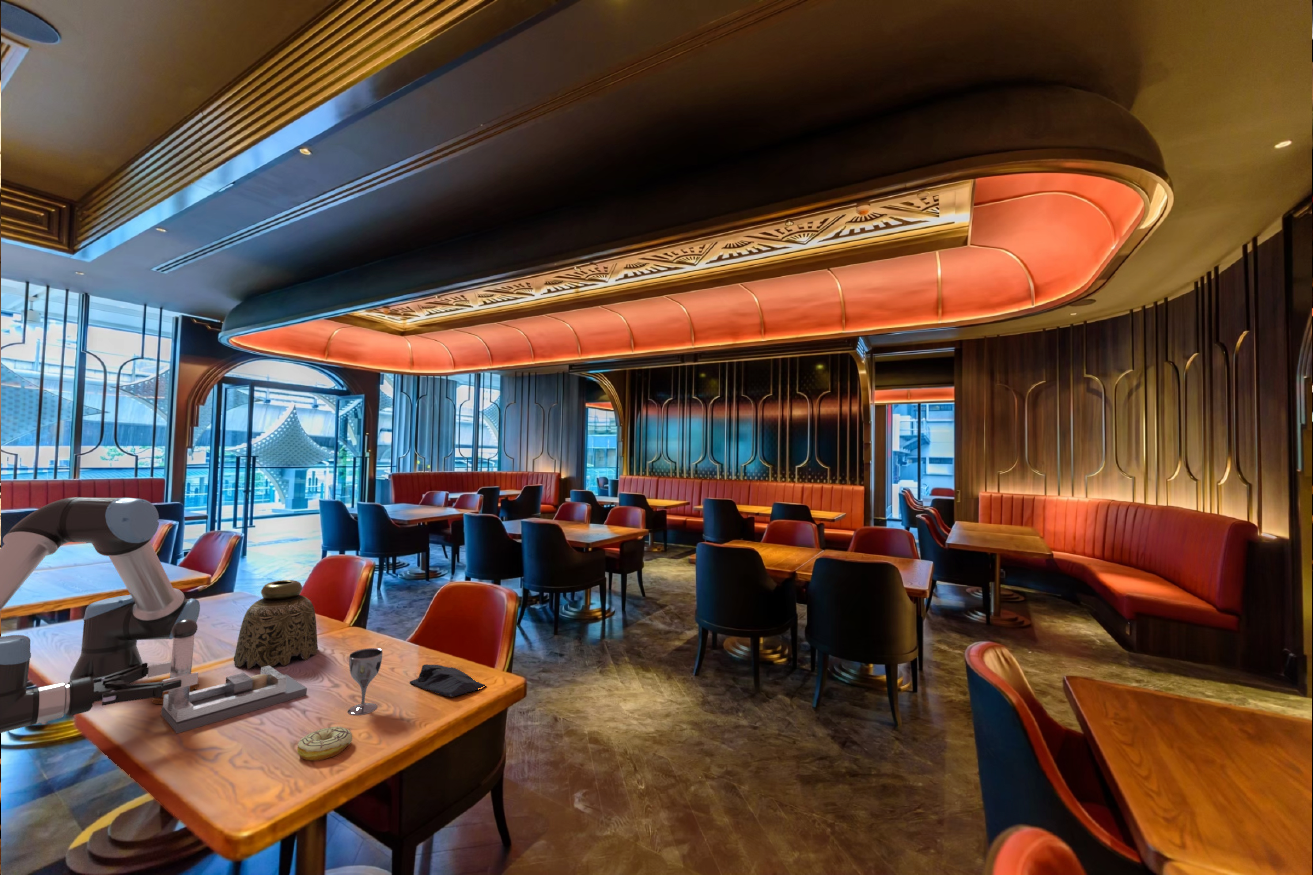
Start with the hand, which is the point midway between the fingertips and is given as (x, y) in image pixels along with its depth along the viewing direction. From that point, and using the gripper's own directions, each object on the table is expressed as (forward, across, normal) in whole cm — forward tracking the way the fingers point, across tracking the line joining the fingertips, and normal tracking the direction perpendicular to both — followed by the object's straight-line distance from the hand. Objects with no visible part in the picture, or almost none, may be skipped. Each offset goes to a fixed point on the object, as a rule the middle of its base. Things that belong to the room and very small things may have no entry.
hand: (189, 670), depth 134 cm
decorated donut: (+16, +42, -13) cm, 47 cm away
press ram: (+8, 0, -10) cm, 13 cm away
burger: (+2, -17, -12) cm, 21 cm away
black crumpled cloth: (+54, +31, -13) cm, 64 cm away
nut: (+15, 0, -10) cm, 18 cm away
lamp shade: (+31, -32, -12) cm, 46 cm away
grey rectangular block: (+11, 0, -10) cm, 15 cm away
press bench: (+11, 0, -12) cm, 16 cm away
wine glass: (+31, +28, -12) cm, 43 cm away
